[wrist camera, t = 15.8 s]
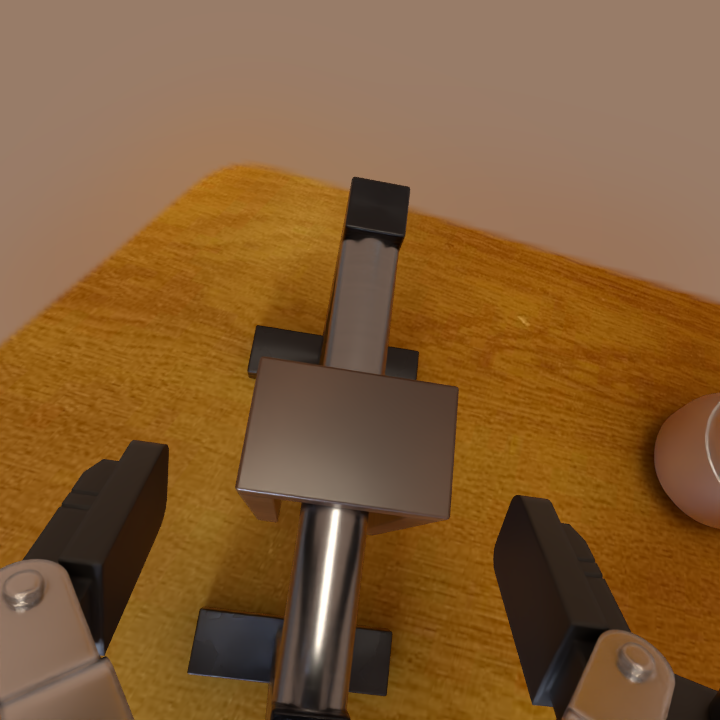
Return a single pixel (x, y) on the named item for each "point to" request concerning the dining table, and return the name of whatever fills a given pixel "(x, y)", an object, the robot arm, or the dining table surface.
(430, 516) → the two-legged arch bridge
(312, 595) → the rack
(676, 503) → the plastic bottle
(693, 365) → the dining table surface
